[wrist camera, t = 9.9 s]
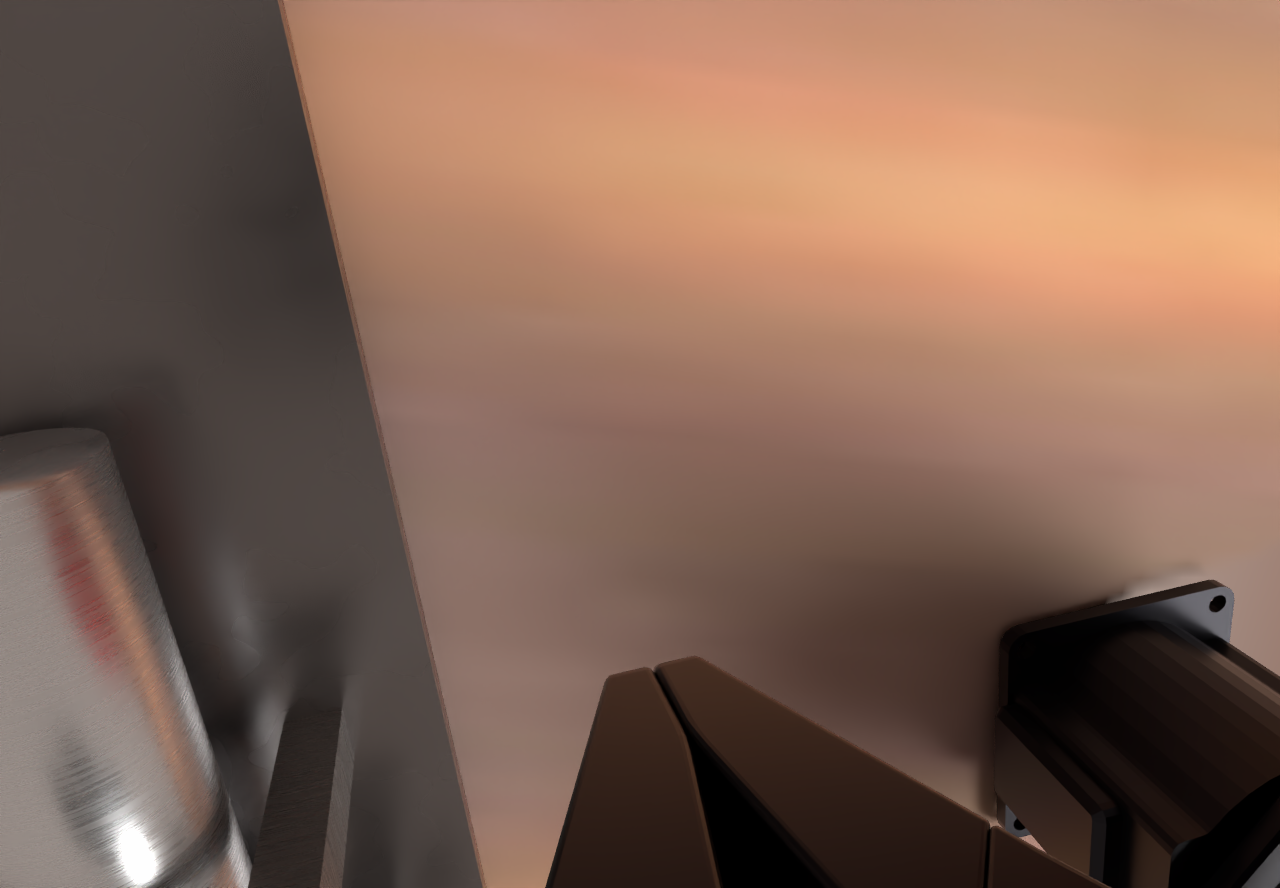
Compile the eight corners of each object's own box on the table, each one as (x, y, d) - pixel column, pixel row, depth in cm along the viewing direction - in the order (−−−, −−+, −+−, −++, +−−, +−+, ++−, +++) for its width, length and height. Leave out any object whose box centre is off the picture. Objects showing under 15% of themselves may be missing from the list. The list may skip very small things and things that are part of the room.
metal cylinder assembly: (187, -413, 15) (-46, -941, 7) (538, 1113, 27) (584, 1499, 19) (-762, -373, 13) (-2396, -1038, 5) (77, 1251, 25) (-68, 1739, 17)
